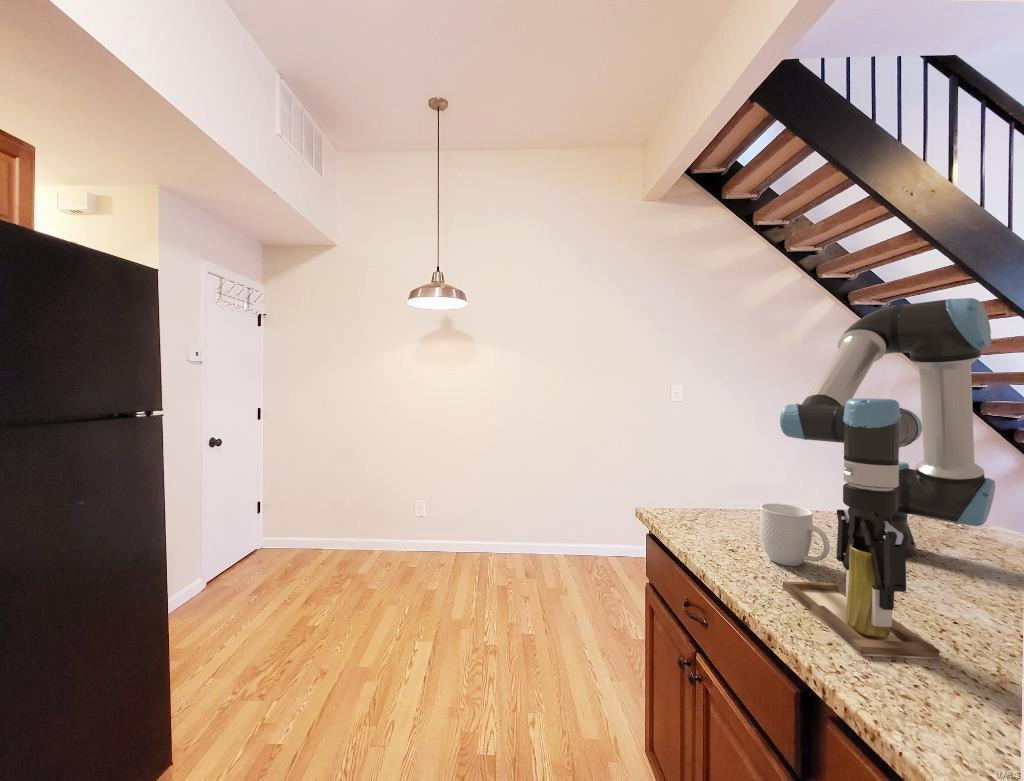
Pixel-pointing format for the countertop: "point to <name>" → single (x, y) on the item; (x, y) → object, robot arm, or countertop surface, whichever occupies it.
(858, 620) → the vase
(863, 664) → the countertop surface
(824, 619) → the shallow serving tray
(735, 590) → the countertop surface
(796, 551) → the mug
